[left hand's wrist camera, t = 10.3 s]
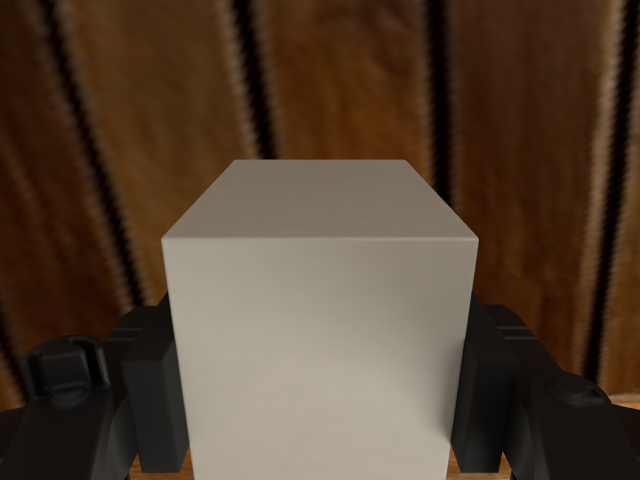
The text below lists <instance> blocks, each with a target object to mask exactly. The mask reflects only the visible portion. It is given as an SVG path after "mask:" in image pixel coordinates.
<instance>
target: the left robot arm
mask: <svg viewBox="0 0 640 480" xmlns="http://www.w3.org/2000/svg"><path fill="white" fill-rule="evenodd" d="M19 364H20V368H21V371H22V375H23V378H24V381H25V385H26V388H27V392H28V395H29V399H30V401H29V404H28V406H25V407H21V408H17V409H12V410H7V411H3V412H0V480H130V476H129V470H130V468H131V466H132V463H133V461H134V459H135V457H136V455H137V453H138V455H139V460H140V465H141V470H142V473H179V472H180V469H181V466H182V464H183V461H184V458H185V455H186V452H187V449H188V446H189V438H188V431H187V423H186V416H185V409H184V402H183V394H182V387H181V380H180V373H179V366H178V358H177V351H176V344H175V337H174V330H173V323H172V315H171V308H170V301H169V294H168V291H167V293H166V294H165V296H164V297H163V299H162V300H161V301H160V303H159V304H158V306H138V307H136V308H135V309H133V310H132V311H130V312H129V313H127V314H125V315H124V316H122V318H121V319H120V320H119V321H118V323H117V324H116V325H115V326H114V328H113V331H110V333H109V334H108V335H107V336H106V338H105V341H100V340H99V339H98V338H96V337H95V336H90V335H85V334H78V335H67V336H63V337H59V338H54V339H52V340H49V341H47V342H44V343H42V344H40V345H38V346H36V347H35V348H33V349H32V350H30V351H29V352H27V353H26V354H25V355H24V356H23V357H22V359H21V360H20V361H19ZM451 446H452V448H453V451H454V454H455V457H456V460H457V463H458V466H459V469H460V471H461V473H498V472H499V467H500V461H501V456H502V451H503V452H504V454H505V456H506V458H507V461H508V463H509V465H510V467H511V469H512V471H511V476H510V480H640V410H637V409H633V408H628V407H623V406H619V405H615V404H612V403H611V401H610V399H609V398H608V396H607V395H606V394H605V392H604V391H603V390H602V389H601V388H600V387H598V386H597V385H595V384H594V383H593V382H591V381H590V380H587V379H585V378H583V377H581V376H579V375H577V374H573V373H569V372H565V371H563V370H562V369H561V368H560V366H559V365H558V364H557V363H556V362H555V360H554V359H553V358H552V357H551V355H550V354H549V353H548V352H547V350H546V349H545V348H544V347H543V345H542V344H541V343H540V342H539V340H536V337H535V335H534V334H533V333H532V332H531V330H530V329H528V327H527V325H526V324H525V323H524V322H523V320H522V319H521V318H520V317H519V315H517V314H516V313H514V312H513V311H511V310H509V309H508V308H506V307H505V306H503V305H482V304H481V302H480V301H479V300H478V298H477V297H476V295H475V294H474V292H473V291H472V292H471V299H470V306H469V313H468V321H467V328H466V335H465V342H464V349H463V357H462V364H461V371H460V378H459V386H458V393H457V400H456V407H455V415H454V422H453V429H452V436H451Z"/></svg>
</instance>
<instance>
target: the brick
mask: <svg viewBox="0 0 640 480" xmlns="http://www.w3.org/2000/svg"><path fill="white" fill-rule="evenodd" d="M478 241H479V240H478V237H477V236H476V235H475V234H474V233H473V232H472V231H471V230H470V229H469V228H468V227H467V225H466V224H465V223H464V222H463V221H462V220H461V219H460V218H459V217H458V216H457V215H456V214H455V213H454V212H453V211H452V209H451V208H450V207H449V206H448V205H447V204H446V203H445V202H444V201H443V200H442V199H441V198H440V197H439V196H438V194H437V193H436V192H435V191H434V190H433V189H432V188H431V187H430V186H429V185H428V184H427V183H426V182H425V181H424V180H423V178H422V177H421V176H420V175H419V174H418V173H417V172H416V171H415V170H414V169H413V168H412V167H411V166H410V165H409V163H408V162H407V161H406V160H234V161H233V162H232V163H231V164H230V165H229V166H228V168H227V169H226V170H225V171H224V172H223V173H222V174H221V175H220V176H219V177H218V178H217V179H216V180H215V181H214V183H213V184H212V185H211V186H210V187H209V188H208V189H207V190H206V191H205V192H204V193H203V194H202V195H201V196H200V197H199V199H198V200H197V201H196V202H195V203H194V204H193V205H192V206H191V207H190V208H189V209H188V210H187V211H186V212H185V213H184V215H183V216H182V217H181V218H180V219H179V220H178V221H177V222H176V223H175V224H174V225H173V226H172V227H171V228H170V229H169V231H168V232H167V233H166V234H165V235H164V236H163V237H162V239H161V243H162V250H163V258H164V265H165V272H166V279H167V287H168V294H169V301H170V308H171V315H172V323H173V330H174V337H175V344H176V351H177V358H178V366H179V373H180V380H181V387H182V394H183V402H184V409H185V416H186V423H187V431H188V438H189V445H190V453H191V460H192V467H193V474H194V480H446V473H447V465H448V458H449V451H450V444H451V436H452V429H453V422H454V415H455V407H456V400H457V393H458V386H459V378H460V371H461V364H462V357H463V349H464V342H465V335H466V328H467V321H468V313H469V306H470V299H471V292H472V285H473V277H474V270H475V263H476V256H477V248H478Z"/></svg>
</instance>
